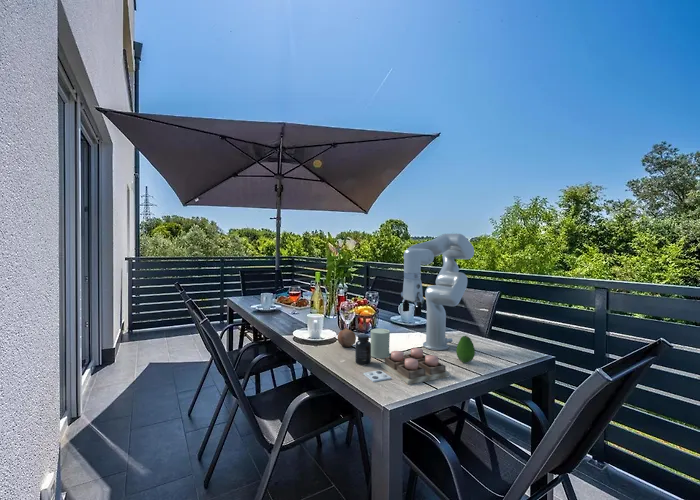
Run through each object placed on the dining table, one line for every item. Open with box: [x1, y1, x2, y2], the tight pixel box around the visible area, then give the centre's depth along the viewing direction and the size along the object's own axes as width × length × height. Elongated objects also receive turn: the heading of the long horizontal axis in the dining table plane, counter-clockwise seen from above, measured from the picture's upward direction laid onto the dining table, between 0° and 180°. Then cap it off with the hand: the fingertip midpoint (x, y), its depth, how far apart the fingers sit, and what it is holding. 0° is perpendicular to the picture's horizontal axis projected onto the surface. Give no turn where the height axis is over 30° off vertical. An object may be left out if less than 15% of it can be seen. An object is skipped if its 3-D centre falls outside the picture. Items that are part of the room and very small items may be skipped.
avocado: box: [455, 335, 476, 364], centre depth 152 cm, size 8×8×12 cm
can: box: [370, 327, 391, 359], centre depth 160 cm, size 9×9×12 cm
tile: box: [363, 369, 392, 383], centre depth 134 cm, size 8×8×1 cm
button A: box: [410, 347, 424, 358], centre depth 147 cm, size 5×5×3 cm
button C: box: [390, 350, 405, 361], centre depth 143 cm, size 5×5×3 cm
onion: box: [337, 327, 357, 348], centre depth 172 cm, size 10×9×10 cm
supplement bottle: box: [354, 333, 372, 366], centre depth 149 cm, size 7×7×12 cm
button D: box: [405, 358, 418, 369], centre depth 134 cm, size 5×5×3 cm
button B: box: [425, 354, 439, 366], centre depth 138 cm, size 5×5×3 cm
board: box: [380, 353, 450, 385], centre depth 140 cm, size 20×20×4 cm
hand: (411, 313), depth 156 cm, fingers open, 9 cm apart
